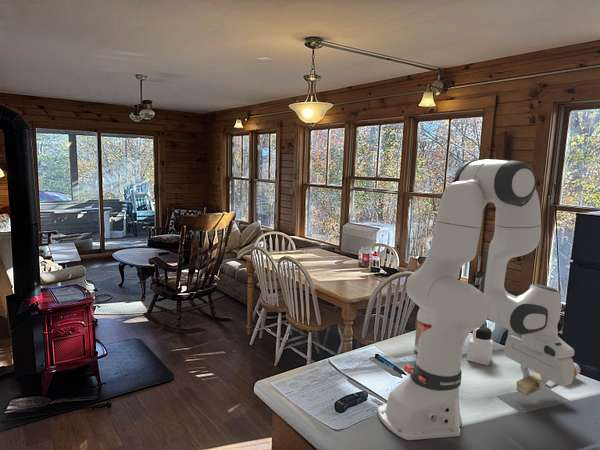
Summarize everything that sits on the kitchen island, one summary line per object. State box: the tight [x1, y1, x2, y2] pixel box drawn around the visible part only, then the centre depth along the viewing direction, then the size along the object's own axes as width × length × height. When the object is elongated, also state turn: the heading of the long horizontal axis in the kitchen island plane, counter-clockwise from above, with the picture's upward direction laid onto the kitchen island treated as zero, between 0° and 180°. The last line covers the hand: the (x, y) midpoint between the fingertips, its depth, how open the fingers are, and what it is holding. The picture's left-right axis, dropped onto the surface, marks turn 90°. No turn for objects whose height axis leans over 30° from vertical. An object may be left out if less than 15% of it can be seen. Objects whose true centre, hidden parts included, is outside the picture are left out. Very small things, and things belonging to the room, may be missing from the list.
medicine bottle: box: [466, 325, 494, 366], centre depth 148 cm, size 7×7×12 cm
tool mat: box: [495, 387, 572, 414], centre depth 123 cm, size 20×9×1 cm, turn 112°
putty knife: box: [516, 372, 560, 396], centre depth 123 cm, size 15×6×3 cm, turn 111°
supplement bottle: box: [573, 362, 581, 379], centre depth 137 cm, size 5×5×10 cm
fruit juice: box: [414, 307, 434, 353], centre depth 152 cm, size 9×9×28 cm
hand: (533, 384), depth 122 cm, fingers closed on putty knife, 3 cm apart
